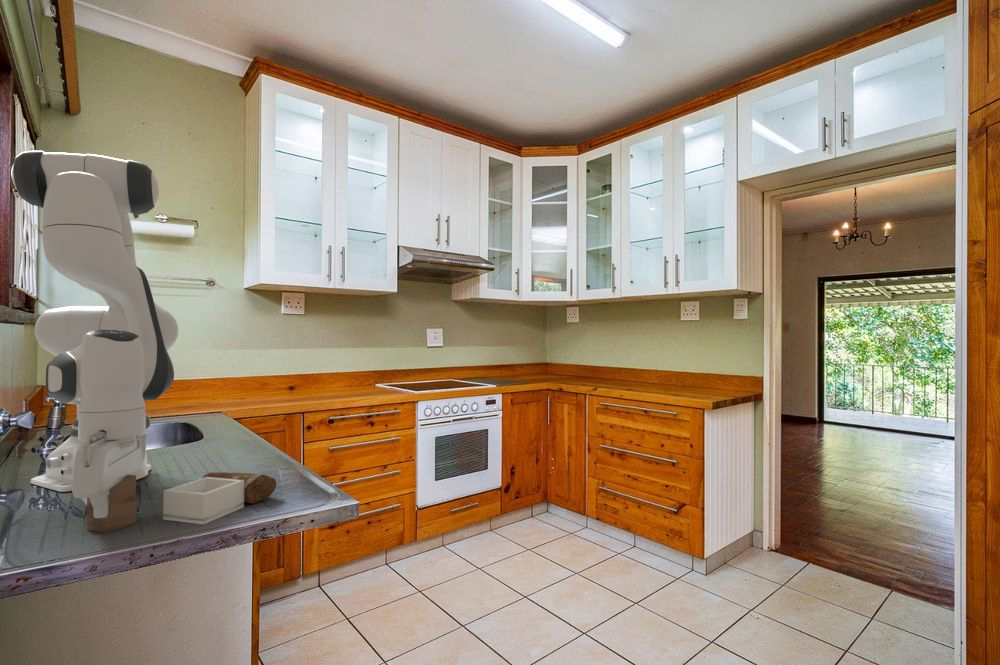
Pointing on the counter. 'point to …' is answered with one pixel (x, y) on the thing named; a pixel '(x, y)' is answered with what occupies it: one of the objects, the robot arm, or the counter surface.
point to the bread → (250, 484)
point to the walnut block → (116, 507)
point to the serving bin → (203, 500)
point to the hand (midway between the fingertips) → (111, 508)
